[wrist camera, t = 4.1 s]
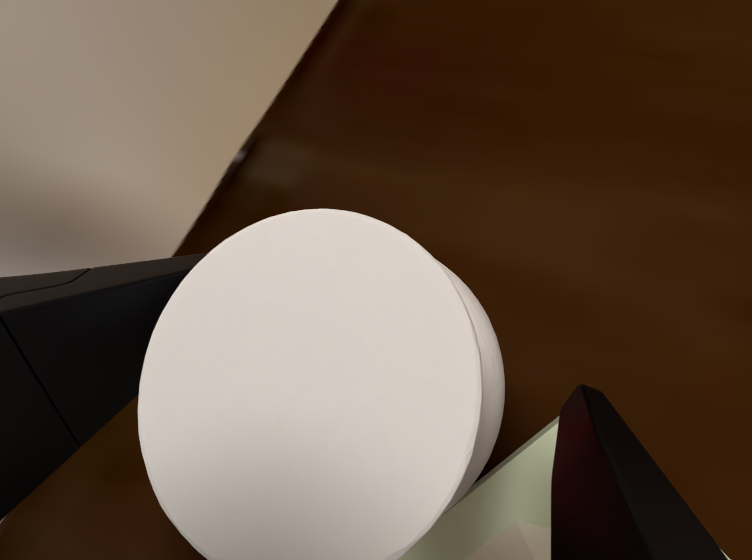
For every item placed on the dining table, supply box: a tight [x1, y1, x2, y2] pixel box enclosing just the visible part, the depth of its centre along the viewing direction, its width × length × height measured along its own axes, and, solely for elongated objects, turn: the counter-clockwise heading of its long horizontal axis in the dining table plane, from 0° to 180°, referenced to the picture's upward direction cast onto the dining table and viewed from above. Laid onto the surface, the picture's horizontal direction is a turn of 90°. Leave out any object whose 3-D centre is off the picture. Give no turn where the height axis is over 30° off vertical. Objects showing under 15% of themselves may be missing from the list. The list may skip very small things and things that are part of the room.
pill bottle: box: [138, 209, 505, 560], centre depth 9 cm, size 6×6×11 cm
